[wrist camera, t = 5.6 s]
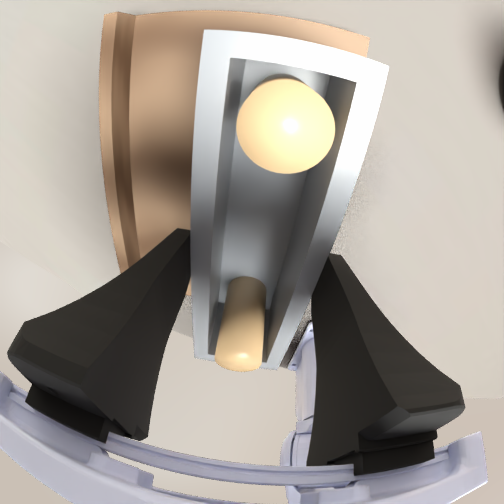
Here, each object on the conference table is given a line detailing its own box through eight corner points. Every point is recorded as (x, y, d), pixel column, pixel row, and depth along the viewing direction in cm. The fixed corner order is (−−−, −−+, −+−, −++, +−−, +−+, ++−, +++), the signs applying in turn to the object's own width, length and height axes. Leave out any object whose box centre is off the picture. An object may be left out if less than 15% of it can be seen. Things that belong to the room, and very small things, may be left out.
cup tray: (279, 307, 20) (276, 384, 15) (209, 296, 19) (191, 372, 15) (347, 62, 9) (404, 68, 5) (232, 40, 9) (193, 25, 5)
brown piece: (291, 294, 24) (292, 331, 20) (145, 269, 23) (128, 302, 20) (359, 40, 11) (383, 34, 8) (139, 20, 11) (104, 14, 8)
